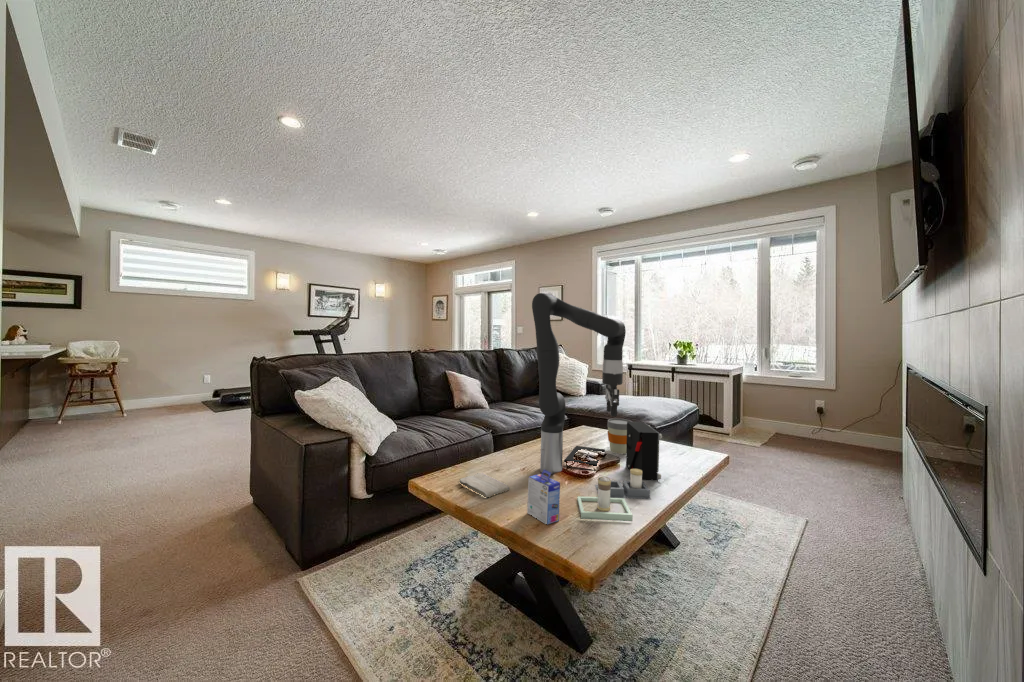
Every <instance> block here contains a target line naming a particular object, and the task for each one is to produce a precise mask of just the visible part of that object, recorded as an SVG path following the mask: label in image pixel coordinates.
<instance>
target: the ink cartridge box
mask: <svg viewBox="0 0 1024 682" xmlns="http://www.w3.org/2000/svg"><path fill="white" fill-rule="evenodd" d="M546 473H547V475H545V474H546ZM551 475H552V474H551V472H548V471H546V470H543V472H542V473H538V474H534V475H530V476H528V485H527V490H528V491H527V507H526V509H527V510H526V513H527V514H528V515H530V516H531V515H532V517H533V518H535V519H536V518H537V519H536V520H537V521H540V522H541V523H543V524H545V525H546V524H547V525H550V524H553V523H557V522H559V521H560V496H561V494H560V493H561V491H560V490H561V482H560V481H557V480H556V479H553V478H551Z"/></svg>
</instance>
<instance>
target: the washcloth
mask: <svg viewBox="0 0 1024 682" xmlns="http://www.w3.org/2000/svg"><path fill="white" fill-rule="evenodd" d="M459 482H460V483H461V484H463V485H465V486H467V487H468V488H470V489H472V490H473V491H475V492H477V493H479V494H481V495H483V496H484V497H486V498H485V499H488V498H487V497H489V498H491V497H490V496H492V495H494V494H497V495H499V494H498V493H500V494H503V493H505V492H508V491H509V490H510V487H509V485H508V484H506V483H504V482H502V481H500V480H498V479H497V478H494V477H492V476H490V475H487V474H486V473H484V472H477V473H476V474H474V475H468V476H465V477H462V478H460V479H459V480H458V483H459ZM507 490H508V491H507ZM504 491H505V492H504ZM502 492H503V493H502ZM494 496H495V495H494ZM492 497H493V496H492Z"/></svg>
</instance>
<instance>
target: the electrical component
mask: <svg viewBox="0 0 1024 682" xmlns="http://www.w3.org/2000/svg"><path fill="white" fill-rule="evenodd" d="M662 439H663V434H662V433H659V431H657V430H656V429H655V428H653V427H652V426H651V425H650V424H647V423H646V422H643V421H632V422H627V446H626V454H625V455H626V456H625V468H627V471H629V472H630V469H640V470H642V481H654V482H655V481H656V482H657V483H659V480H661V479H662V474H661V473H660V472H659V470H660V469H659V466H660V464H659V463H660V440H662Z"/></svg>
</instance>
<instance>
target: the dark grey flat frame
mask: <svg viewBox="0 0 1024 682" xmlns="http://www.w3.org/2000/svg"><path fill="white" fill-rule="evenodd" d="M581 449H587V450H593V451H602V452H605V453H606V450H605V448H596V447H589V446H580V445H576V446H574V447H573V449H572V450H571V451H570V452H569V453H568V455H567V456H566V457H565V458H564V460H563V463H564V462H566V461H574V462H579V463H586V464H589V465H593V466H597V463H598V461H599V460H597V461H590V462H583V461H581V460H574V459H573V457H574V455H575V453H576V452H577V451H578V450H581Z"/></svg>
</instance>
